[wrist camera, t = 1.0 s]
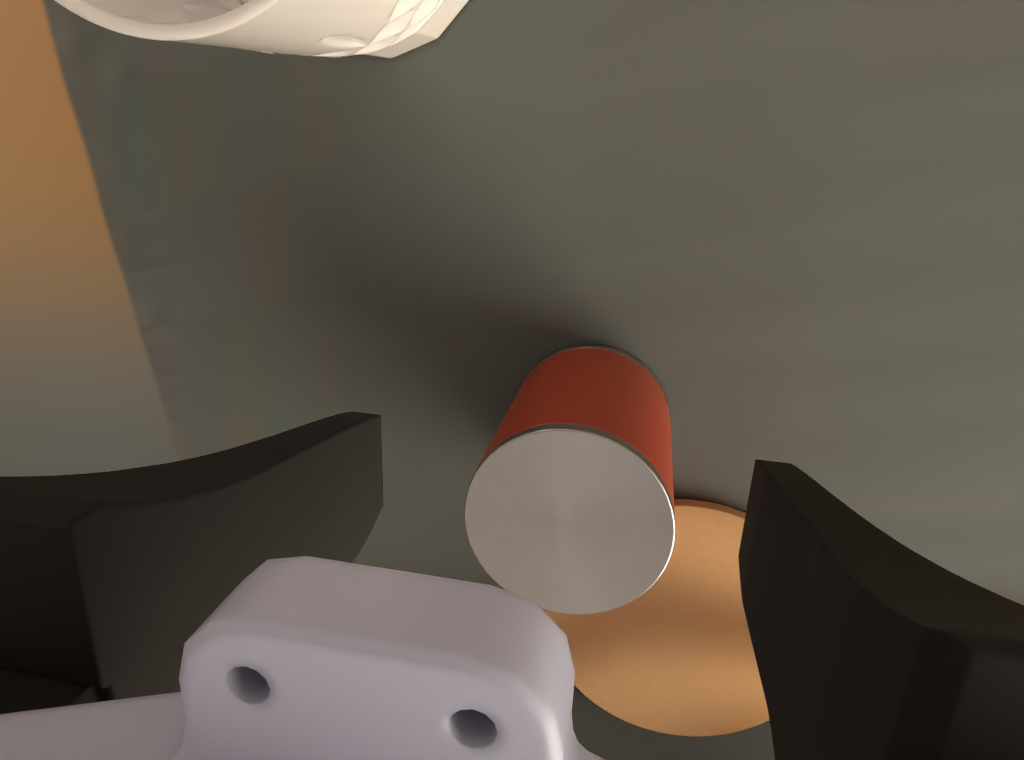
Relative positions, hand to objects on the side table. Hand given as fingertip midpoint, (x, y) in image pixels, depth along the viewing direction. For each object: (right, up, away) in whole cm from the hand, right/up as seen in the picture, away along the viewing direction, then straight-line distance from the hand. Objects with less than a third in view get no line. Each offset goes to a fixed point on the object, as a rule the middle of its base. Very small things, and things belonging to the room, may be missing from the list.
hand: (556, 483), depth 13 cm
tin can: (+2, +1, +10) cm, 10 cm away
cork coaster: (+5, -7, +12) cm, 15 cm away
